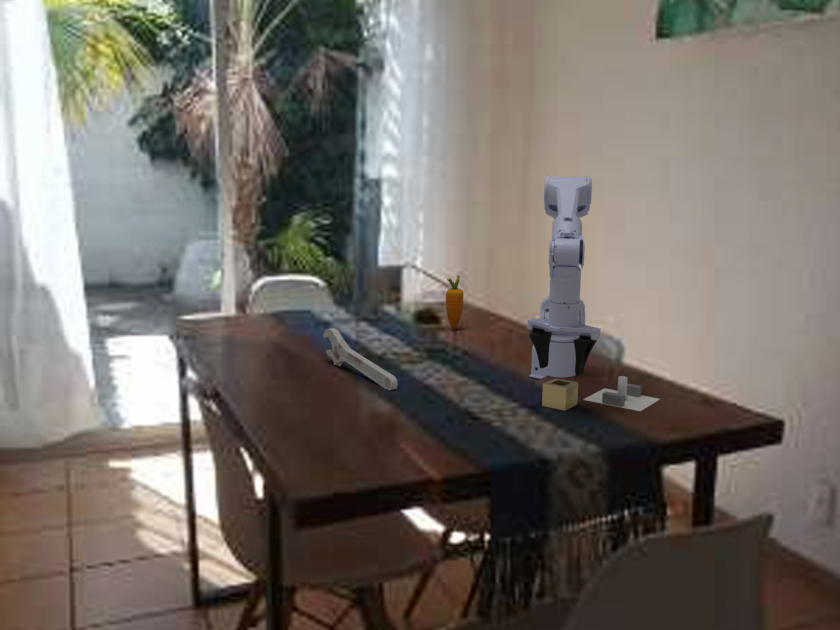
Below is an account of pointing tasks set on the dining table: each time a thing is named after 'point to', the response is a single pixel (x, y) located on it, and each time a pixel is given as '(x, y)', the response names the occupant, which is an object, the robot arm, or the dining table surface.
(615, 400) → the block
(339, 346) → the wrench
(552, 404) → the brass collar
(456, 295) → the carrot
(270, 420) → the dining table surface
